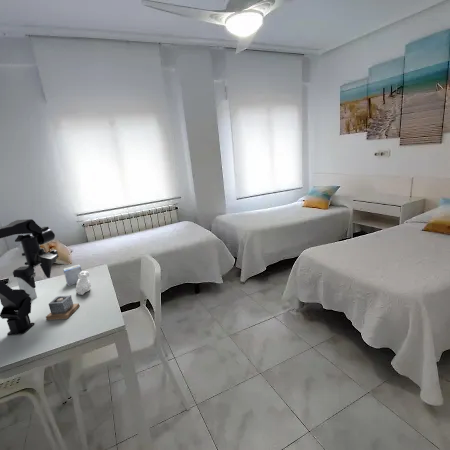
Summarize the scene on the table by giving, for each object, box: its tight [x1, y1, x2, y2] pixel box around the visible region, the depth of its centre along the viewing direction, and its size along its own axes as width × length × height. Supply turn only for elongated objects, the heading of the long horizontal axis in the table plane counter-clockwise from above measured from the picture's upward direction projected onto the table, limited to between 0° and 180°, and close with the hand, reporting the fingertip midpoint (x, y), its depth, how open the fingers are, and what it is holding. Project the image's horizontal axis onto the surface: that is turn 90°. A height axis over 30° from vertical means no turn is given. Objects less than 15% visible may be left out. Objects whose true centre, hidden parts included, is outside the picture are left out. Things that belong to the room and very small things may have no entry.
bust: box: [75, 270, 92, 296], centre depth 133 cm, size 12×8×11 cm
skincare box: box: [15, 277, 37, 300], centre depth 130 cm, size 6×4×12 cm
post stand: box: [45, 298, 80, 321], centre depth 114 cm, size 9×9×6 cm
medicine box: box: [63, 264, 83, 287], centre depth 143 cm, size 8×4×9 cm, turn 130°
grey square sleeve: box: [48, 294, 74, 314], centre depth 114 cm, size 6×6×5 cm
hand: (41, 282), depth 116 cm, fingers open, 9 cm apart
